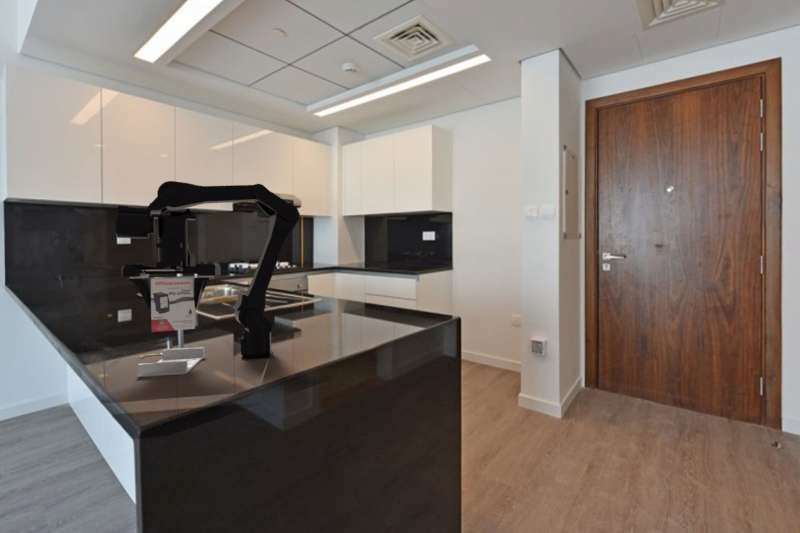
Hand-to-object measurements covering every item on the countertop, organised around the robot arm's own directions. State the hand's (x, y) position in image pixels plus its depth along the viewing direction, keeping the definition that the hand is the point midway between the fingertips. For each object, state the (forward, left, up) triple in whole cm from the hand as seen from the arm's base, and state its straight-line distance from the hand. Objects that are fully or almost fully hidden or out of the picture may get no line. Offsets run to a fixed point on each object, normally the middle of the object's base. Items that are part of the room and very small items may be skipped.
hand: (174, 308), depth 88 cm
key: (+9, -11, -13) cm, 19 cm away
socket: (0, 0, -13) cm, 13 cm away
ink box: (0, 0, -5) cm, 5 cm away
